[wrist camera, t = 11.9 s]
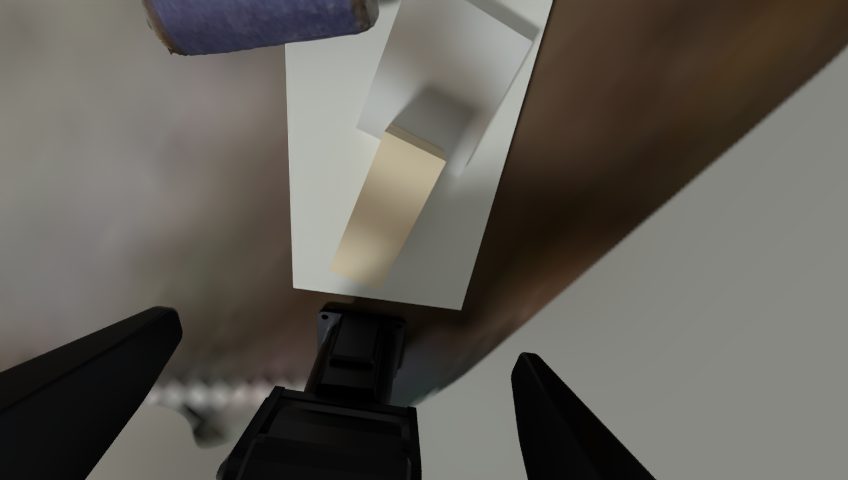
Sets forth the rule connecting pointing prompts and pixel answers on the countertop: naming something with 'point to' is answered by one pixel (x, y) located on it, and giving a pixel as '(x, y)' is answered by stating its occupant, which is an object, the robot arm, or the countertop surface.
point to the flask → (253, 22)
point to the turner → (423, 121)
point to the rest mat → (355, 150)
